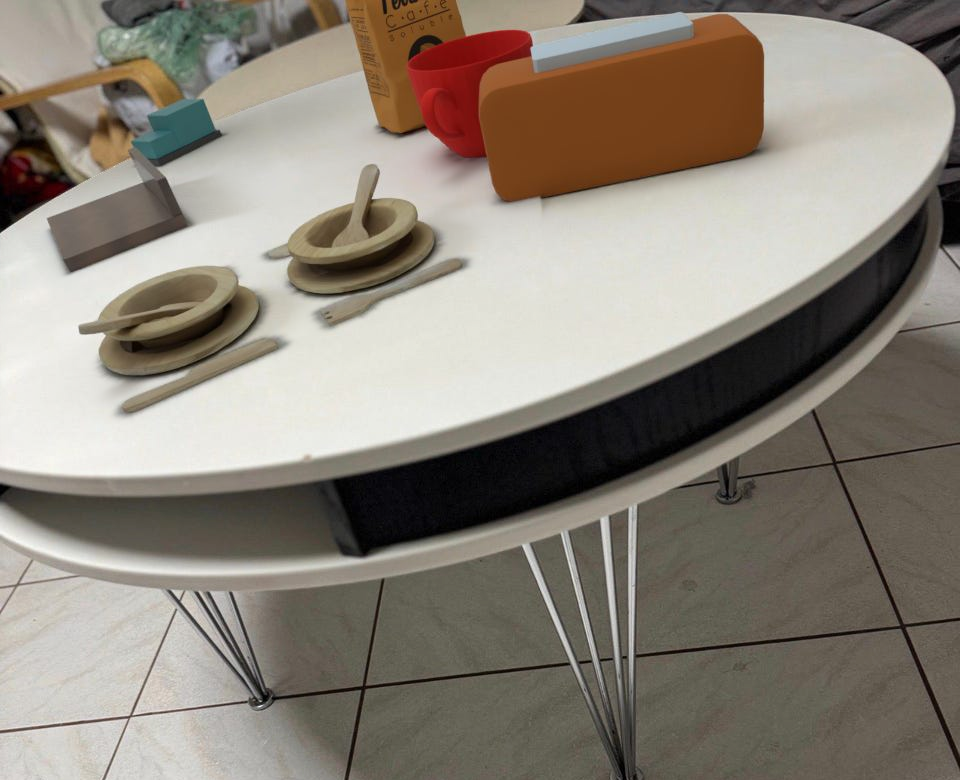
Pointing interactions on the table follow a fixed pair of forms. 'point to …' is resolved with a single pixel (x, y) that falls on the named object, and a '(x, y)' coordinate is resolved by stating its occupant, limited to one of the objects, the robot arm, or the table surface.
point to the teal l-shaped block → (177, 131)
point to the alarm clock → (622, 105)
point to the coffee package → (399, 50)
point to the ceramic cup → (461, 84)
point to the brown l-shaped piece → (118, 219)
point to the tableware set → (231, 308)
